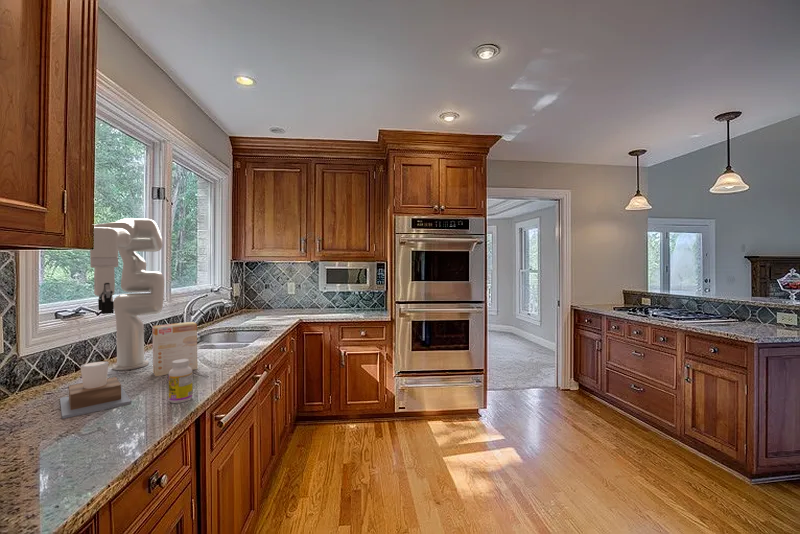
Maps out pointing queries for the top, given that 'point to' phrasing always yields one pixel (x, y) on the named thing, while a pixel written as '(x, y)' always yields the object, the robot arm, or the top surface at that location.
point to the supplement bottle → (180, 381)
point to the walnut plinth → (94, 394)
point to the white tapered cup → (94, 374)
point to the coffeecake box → (174, 346)
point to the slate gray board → (67, 412)
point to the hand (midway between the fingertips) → (106, 311)
